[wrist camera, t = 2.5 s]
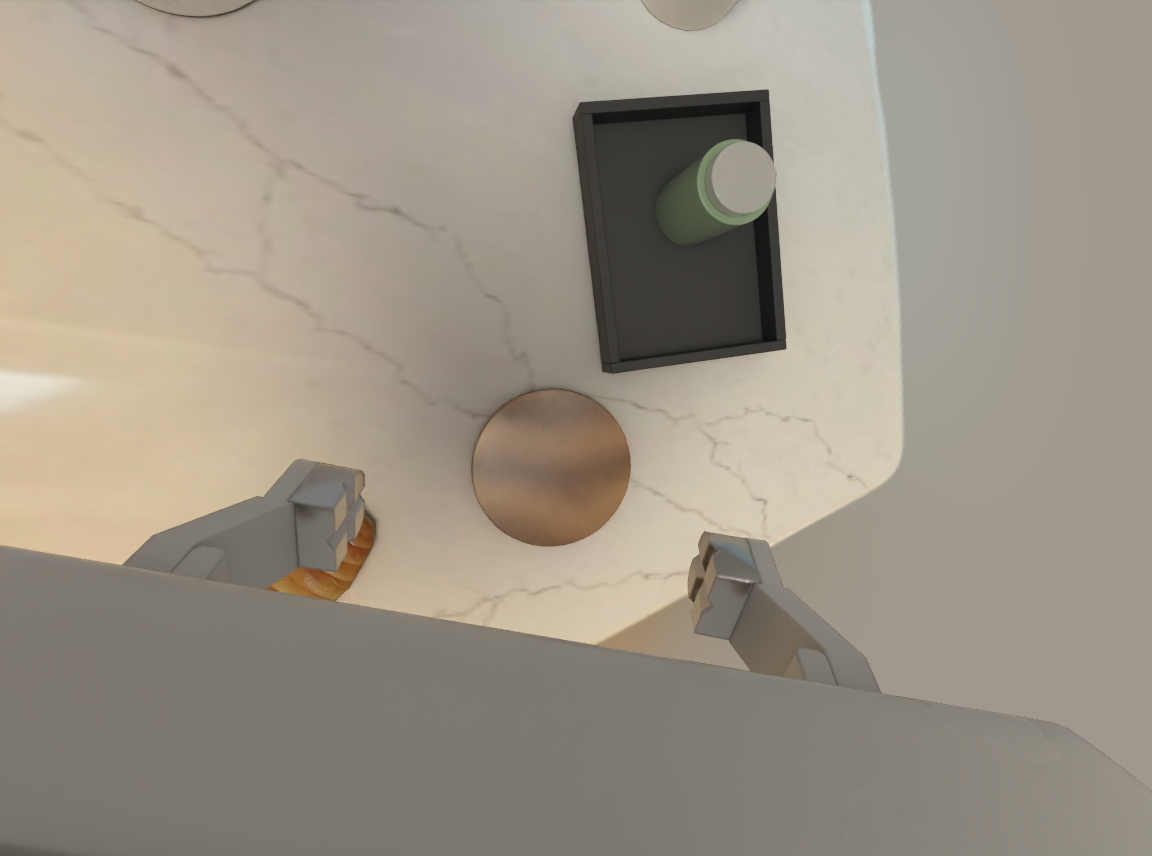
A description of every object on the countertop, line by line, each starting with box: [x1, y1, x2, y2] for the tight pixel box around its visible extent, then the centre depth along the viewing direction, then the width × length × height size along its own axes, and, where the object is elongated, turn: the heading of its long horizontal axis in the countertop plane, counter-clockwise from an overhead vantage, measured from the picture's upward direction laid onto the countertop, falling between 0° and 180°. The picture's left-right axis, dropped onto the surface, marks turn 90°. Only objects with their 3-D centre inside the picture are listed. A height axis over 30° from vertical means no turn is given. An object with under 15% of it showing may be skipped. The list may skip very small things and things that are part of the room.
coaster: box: [472, 389, 631, 546], centre depth 50 cm, size 13×13×1 cm
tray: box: [573, 90, 786, 374], centre depth 48 cm, size 20×15×3 cm
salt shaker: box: [656, 139, 776, 246], centre depth 44 cm, size 5×5×10 cm
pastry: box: [265, 514, 375, 601], centre depth 46 cm, size 9×7×4 cm
